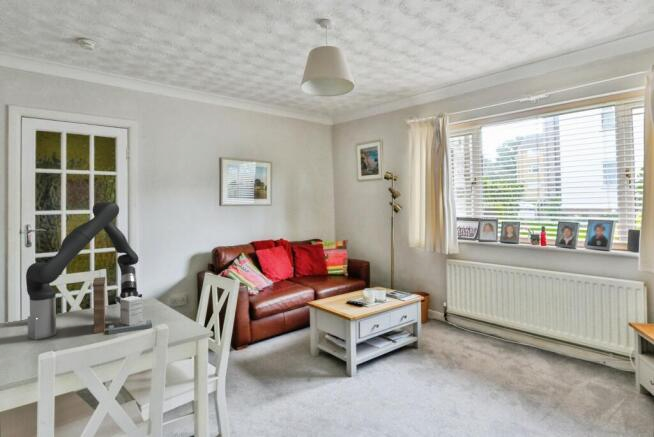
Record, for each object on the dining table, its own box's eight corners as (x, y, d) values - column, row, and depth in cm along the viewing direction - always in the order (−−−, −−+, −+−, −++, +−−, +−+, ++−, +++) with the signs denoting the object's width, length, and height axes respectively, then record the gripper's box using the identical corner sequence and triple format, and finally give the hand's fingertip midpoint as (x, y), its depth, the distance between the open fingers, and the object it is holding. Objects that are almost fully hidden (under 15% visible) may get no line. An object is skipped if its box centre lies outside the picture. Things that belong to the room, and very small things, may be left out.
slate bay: (109, 329, 170) (109, 325, 170) (151, 323, 179) (150, 319, 179) (108, 334, 164) (108, 330, 164) (152, 328, 173) (152, 323, 173)
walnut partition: (104, 332, 166) (104, 283, 166) (93, 334, 164) (92, 284, 163) (105, 322, 181) (105, 277, 180) (95, 323, 178) (94, 277, 178)
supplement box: (119, 323, 179) (119, 298, 178) (133, 319, 186) (133, 295, 185) (129, 326, 176) (128, 300, 175) (142, 321, 182) (142, 297, 182)
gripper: (114, 281, 189) (114, 310, 179) (142, 278, 195) (144, 306, 185) (114, 289, 193) (114, 317, 183) (142, 286, 200) (143, 313, 190)
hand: (129, 312), depth 184 cm, fingers closed
